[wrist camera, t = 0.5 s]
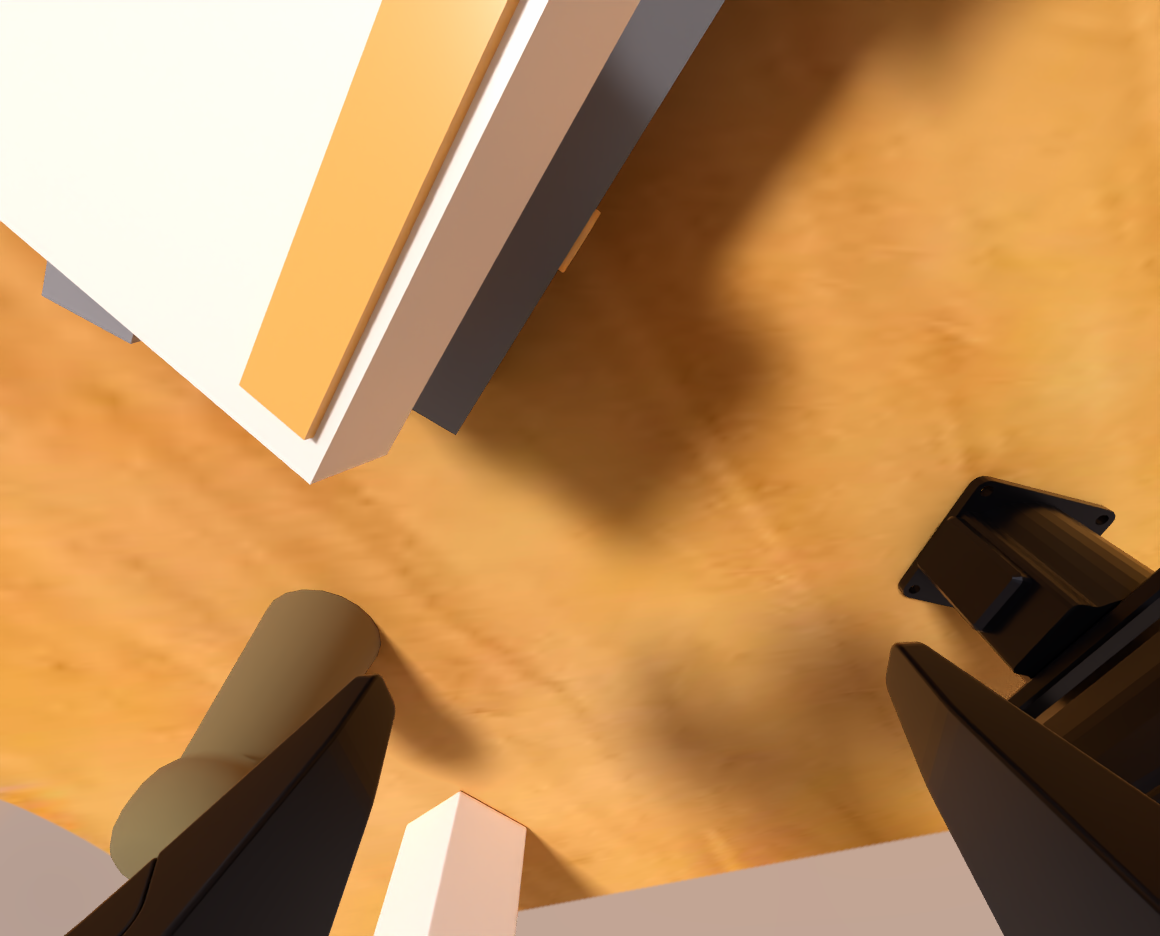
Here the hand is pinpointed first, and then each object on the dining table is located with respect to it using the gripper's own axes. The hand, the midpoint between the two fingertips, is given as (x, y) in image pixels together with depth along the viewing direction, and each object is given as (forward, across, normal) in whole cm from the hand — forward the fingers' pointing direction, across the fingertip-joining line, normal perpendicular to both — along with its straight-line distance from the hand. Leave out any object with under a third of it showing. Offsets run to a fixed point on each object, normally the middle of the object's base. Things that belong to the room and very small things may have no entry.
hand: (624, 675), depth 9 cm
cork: (+13, +17, +10) cm, 23 cm away
